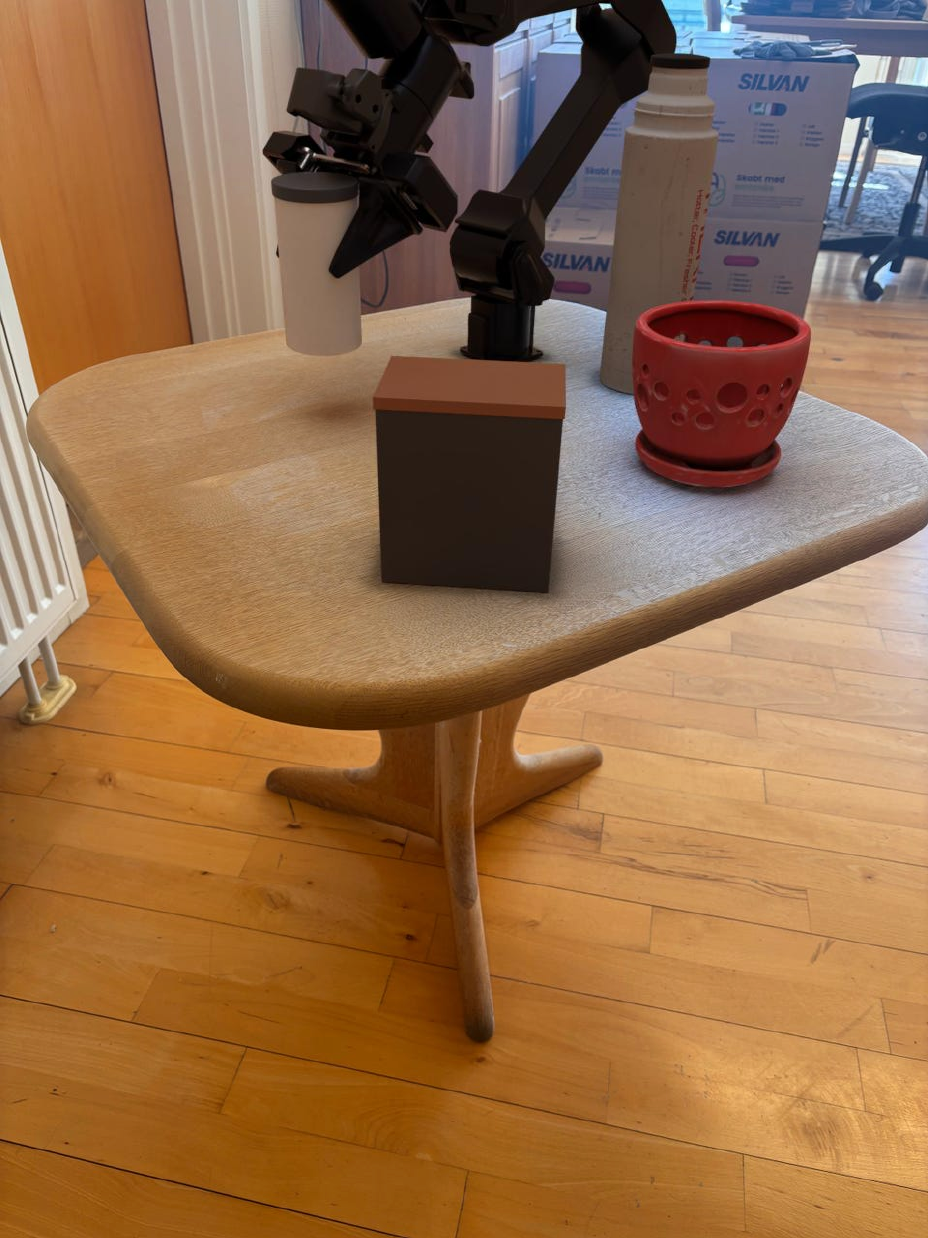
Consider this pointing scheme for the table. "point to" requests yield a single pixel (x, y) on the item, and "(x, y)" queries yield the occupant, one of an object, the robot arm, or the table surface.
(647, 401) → the flower pot
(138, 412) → the table surface
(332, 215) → the container
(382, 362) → the table surface
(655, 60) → the thermos bottle
